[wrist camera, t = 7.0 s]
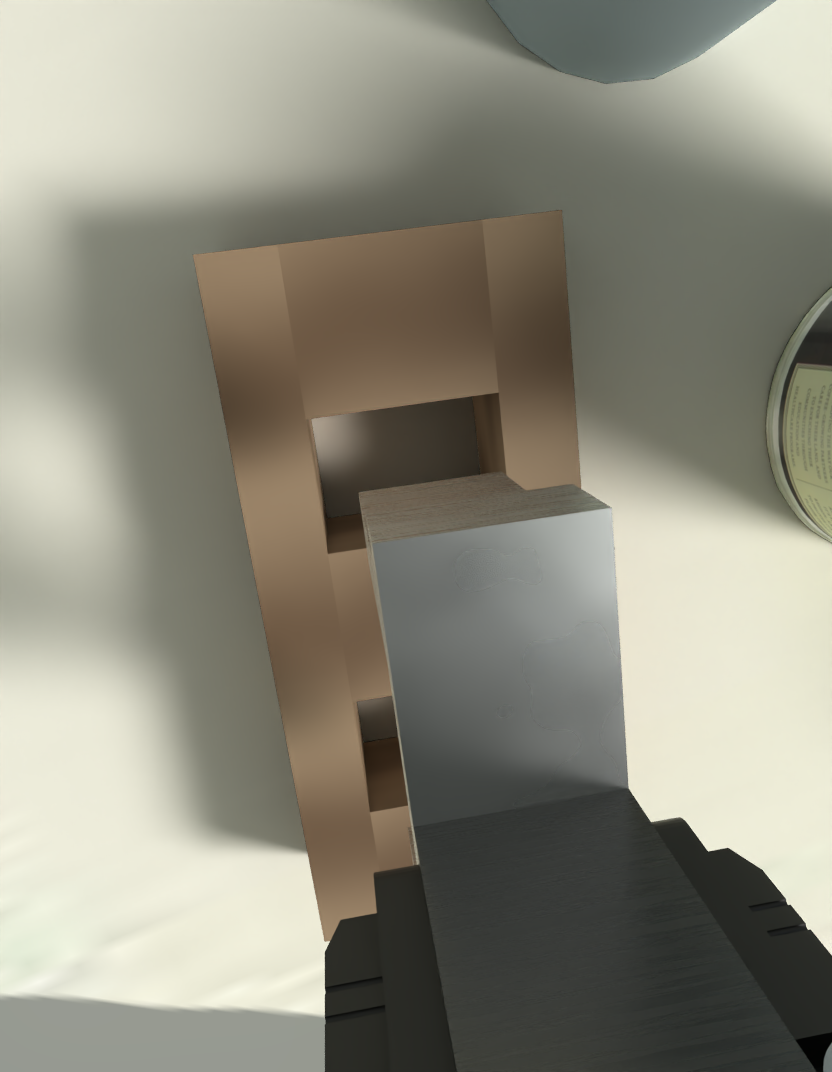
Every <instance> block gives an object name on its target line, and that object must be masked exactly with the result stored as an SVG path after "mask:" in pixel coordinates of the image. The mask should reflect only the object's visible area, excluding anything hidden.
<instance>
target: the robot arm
mask: <svg viewBox="0 0 832 1072" xmlns="http://www.w3.org/2000/svg"><path fill="white" fill-rule="evenodd" d="M651 823H652V825H653V826H654V828H655V829H656V831H657V832H658V834H659V835H660V837H661V838H662V840H663V841H664V843H665V844H666V846H667V847H668V849H669V850H670V852H671V853H672V855H673V856H674V858H675V859H676V861H677V862H678V864H679V865H680V867H681V869H682V870H683V872H684V873H685V875H686V876H687V878H688V879H689V881H690V882H691V884H692V885H693V887H694V888H695V890H696V891H697V893H698V894H699V896H700V897H701V899H702V900H703V902H704V903H705V905H706V906H707V908H708V909H709V911H710V912H711V914H712V915H713V917H714V918H715V920H716V921H717V923H718V924H719V926H720V927H721V929H722V930H723V932H724V933H725V935H726V936H727V938H728V939H729V941H730V942H731V944H732V945H733V947H734V948H735V950H736V951H737V953H738V954H739V956H740V957H741V959H742V960H743V962H744V963H745V965H746V966H747V968H748V969H749V971H750V972H751V974H752V975H753V977H754V979H755V980H756V982H757V983H758V985H759V986H760V988H761V989H762V991H763V992H764V994H765V995H766V997H767V998H768V1000H769V1001H770V1003H771V1004H772V1006H773V1007H774V1009H775V1010H776V1012H777V1013H778V1015H779V1016H780V1018H781V1019H782V1021H783V1022H784V1024H785V1025H786V1027H787V1028H788V1030H789V1031H790V1033H791V1034H792V1036H793V1037H794V1039H795V1040H796V1042H797V1043H798V1045H799V1046H800V1048H801V1049H802V1051H803V1052H804V1054H805V1055H806V1057H807V1058H808V1060H809V1061H810V1063H811V1064H812V1066H813V1067H814V1069H815V1070H816V1072H832V955H831V954H830V953H829V952H828V950H827V949H826V948H825V947H824V946H823V944H822V943H821V942H820V941H819V939H818V938H817V937H816V936H815V934H814V933H813V932H812V931H811V930H808V929H807V927H806V923H805V922H804V921H803V920H802V918H801V917H800V916H799V915H798V913H797V912H796V911H795V910H794V909H793V907H792V906H791V905H788V904H787V902H786V899H785V897H784V896H783V895H782V894H781V892H780V891H779V890H778V889H777V888H776V886H775V885H774V884H773V883H772V881H771V880H770V879H769V878H768V876H767V875H766V874H765V873H764V871H763V870H762V869H760V868H758V867H757V866H755V865H754V864H752V863H751V862H749V861H748V860H746V859H744V858H743V857H741V856H740V855H738V854H737V853H735V852H734V851H732V850H730V849H729V848H725V849H720V850H715V851H709V852H708V851H707V850H706V848H705V847H704V846H703V844H702V843H701V841H700V840H699V839H698V837H697V836H696V835H695V833H694V832H693V831H692V829H691V828H690V826H689V825H688V824H687V823H686V821H685V820H683V819H682V818H673V819H667V820H662V821H656V822H651ZM374 887H375V898H376V910H377V913H374V914H369V915H363V916H358V917H353V918H347V919H342V920H340V922H339V924H338V926H337V928H336V930H335V932H334V934H333V936H332V939H331V941H330V943H329V945H328V947H327V949H326V951H325V991H326V994H325V1020H326V1024H325V1072H456V1069H455V1063H454V1058H453V1052H452V1046H451V1041H450V1035H449V1029H448V1024H447V1018H446V1012H445V1007H444V1001H443V995H442V990H441V984H440V979H439V973H438V967H437V962H436V956H435V950H434V945H433V939H432V933H431V928H430V922H429V916H428V911H427V905H426V899H425V894H424V888H423V882H422V877H421V871H420V866H419V864H418V865H413V866H407V867H402V868H396V869H391V870H385V871H380V872H374Z"/></svg>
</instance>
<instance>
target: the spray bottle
mask: <svg viewBox="0 0 832 1072" xmlns="http://www.w3.org/2000/svg"><path fill="white" fill-rule="evenodd" d="M775 1H776V0H487V2H488V3H489V4H490V6H491V7H492V8H493V10H494V11H495V12H496V13H497V15H498V16H499V17H500V19H501V20H502V21H503V23H504V24H505V25H506V27H507V28H508V29H509V31H510V32H511V33H512V35H513V36H514V37H515V39H516V40H517V41H518V43H520V44H521V45H523V46H524V47H525V48H527V49H528V50H530V51H531V52H533V53H534V54H536V55H537V56H538V57H540V58H541V59H543V60H544V61H546V62H547V63H548V64H550V65H551V66H553V67H554V68H556V69H557V70H559V71H560V72H564V73H568V74H571V75H575V76H579V77H583V78H587V79H590V80H594V81H598V82H602V83H606V84H608V83H617V82H627V81H636V80H646V79H654V78H656V77H658V76H660V75H662V74H664V73H666V72H668V71H670V70H672V69H674V68H676V67H678V66H680V65H683V64H685V63H687V62H689V61H691V60H693V59H695V58H697V57H698V56H700V55H701V54H703V53H704V52H705V51H707V50H708V49H710V48H711V47H712V46H714V45H715V44H717V43H718V42H719V41H721V40H722V39H723V38H725V37H726V36H728V35H729V34H730V33H732V32H733V31H735V30H736V29H737V28H739V27H740V26H742V25H743V24H744V23H746V22H747V21H749V20H750V19H751V18H753V17H754V16H755V15H757V14H758V13H760V12H761V11H762V10H764V9H765V8H767V7H768V6H769V5H771V4H772V3H774V2H775Z"/></svg>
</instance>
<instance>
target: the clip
mask: <svg viewBox="0 0 832 1072" xmlns="http://www.w3.org/2000/svg"><path fill="white" fill-rule="evenodd" d="M358 494H359V500H360V507H361V514H362V521H363V527H364V534H365V541H366V548H367V555H368V561H369V568H370V573H371V578H372V584H373V589H374V594H375V600H376V605H377V610H378V616H379V621H380V626H381V631H382V637H383V642H384V647H385V653H386V658H387V663H388V670H389V677H390V684H391V691H392V698H393V705H394V711H395V718H396V725H397V732H398V739H399V746H400V752H401V759H402V766H403V773H404V780H405V787H406V794H407V800H408V807H409V814H410V821H411V827H408V833H409V839H410V846H411V853H412V860H413V865H418V864H419V866H420V871H421V877H422V882H423V888H424V894H425V899H426V905H427V911H428V916H429V922H430V928H431V933H432V939H433V945H434V950H435V956H436V962H437V967H438V973H439V979H440V984H441V990H442V995H443V1001H444V1007H445V1012H446V1018H447V1024H448V1029H449V1035H450V1041H451V1046H452V1052H453V1058H454V1063H455V1069H456V1072H816V1070H815V1069H814V1067H813V1066H812V1064H811V1063H810V1061H809V1060H808V1058H807V1057H806V1055H805V1054H804V1052H803V1051H802V1049H801V1048H800V1046H799V1045H798V1043H797V1042H796V1040H795V1039H794V1037H793V1036H792V1034H791V1033H790V1031H789V1030H788V1028H787V1027H786V1025H785V1024H784V1022H783V1021H782V1019H781V1018H780V1016H779V1015H778V1013H777V1012H776V1010H775V1009H774V1007H773V1006H772V1004H771V1003H770V1001H769V1000H768V998H767V997H766V995H765V994H764V992H763V991H762V989H761V988H760V986H759V985H758V983H757V982H756V980H755V979H754V977H753V975H752V974H751V972H750V971H749V969H748V968H747V966H746V965H745V963H744V962H743V960H742V959H741V957H740V956H739V954H738V953H737V951H736V950H735V948H734V947H733V945H732V944H731V942H730V941H729V939H728V938H727V936H726V935H725V933H724V932H723V930H722V929H721V927H720V926H719V924H718V923H717V921H716V920H715V918H714V917H713V915H712V914H711V912H710V911H709V909H708V908H707V906H706V905H705V903H704V902H703V900H702V899H701V897H700V896H699V894H698V893H697V891H696V890H695V888H694V887H693V885H692V884H691V882H690V881H689V879H688V878H687V876H686V875H685V873H684V872H683V870H682V869H681V867H680V865H679V864H678V862H677V861H676V859H675V858H674V856H673V855H672V853H671V852H670V850H669V849H668V847H667V846H666V844H665V843H664V841H663V840H662V838H661V837H660V835H659V834H658V832H657V831H656V829H655V828H654V826H653V825H652V823H651V822H650V820H649V819H648V817H647V816H646V814H645V813H644V811H643V810H642V808H641V807H640V805H639V804H638V802H637V801H636V799H635V798H634V796H633V795H632V793H631V792H630V790H629V789H628V773H627V756H626V739H625V722H624V706H623V689H622V672H621V655H620V638H619V622H618V605H617V588H616V571H615V554H614V538H613V521H612V508H611V507H610V506H608V505H606V504H605V503H603V502H602V501H600V500H598V499H597V498H595V497H593V496H592V495H590V494H589V493H587V492H585V491H584V490H582V489H580V488H579V487H577V486H576V485H574V484H567V485H560V486H553V487H546V488H540V489H533V490H524V489H523V488H522V487H521V486H519V485H518V484H517V483H516V482H514V481H513V480H512V479H511V478H509V477H508V476H507V475H506V474H504V473H503V472H502V471H501V472H494V473H487V474H480V475H473V476H467V477H460V478H453V479H446V480H439V481H432V482H425V483H418V484H412V485H405V486H398V487H391V488H384V489H377V490H370V491H363V492H358Z"/></svg>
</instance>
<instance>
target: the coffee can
mask: <svg viewBox="0 0 832 1072" xmlns="http://www.w3.org/2000/svg"><path fill="white" fill-rule="evenodd" d="M766 434H767V448H768V453H769V458H770V463H771V467H772V471H773V474H774V477H775V481H776V484H777V486H778V488H779V490H780V492H781V493H782V495H783V497H784V498H785V500H786V501H787V502H788V504H789V505H790V507H791V509H792V510H793V511H794V513H795V514H796V515H797V516H798V517H799V518H800V520H801V521H802V522H804V523H805V524H806V525H807V526H808V527H809V528H810V529H811V530H812V531H814V532H815V533H817V534H818V535H820V536H821V537H823V538H824V539H826V540H828V541H830V542H831V543H832V287H831V288H830V289H829V290H828V291H827V292H826V293H825V294H824V295H823V296H822V297H821V298H820V299H819V300H818V301H817V303H816V304H815V305H814V306H813V307H812V308H811V310H810V311H809V312H808V313H807V314H806V316H805V317H804V318H803V320H802V321H801V323H800V324H799V326H798V327H797V329H796V330H795V332H794V333H793V335H792V337H791V338H790V340H789V342H788V344H787V346H786V348H785V350H784V352H783V354H782V356H781V359H780V361H779V363H778V366H777V369H776V371H775V374H774V377H773V381H772V385H771V390H770V395H769V400H768V407H767V418H766Z"/></svg>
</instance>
